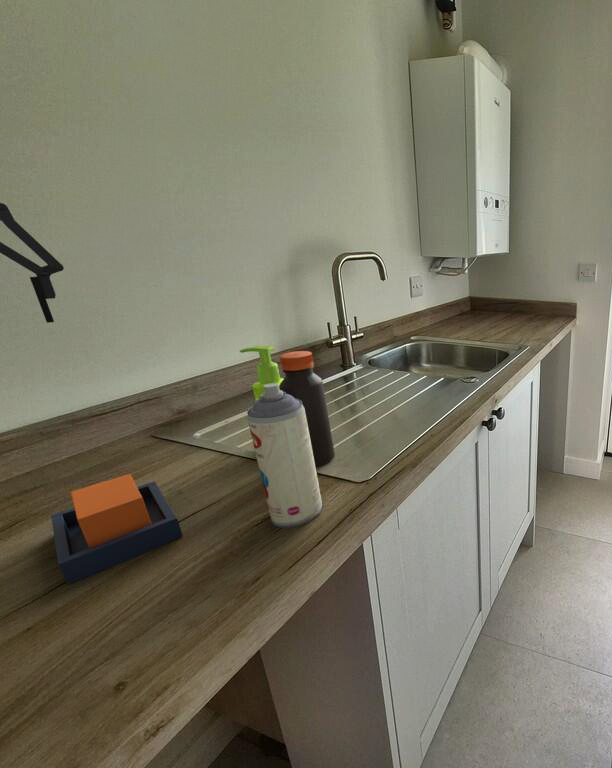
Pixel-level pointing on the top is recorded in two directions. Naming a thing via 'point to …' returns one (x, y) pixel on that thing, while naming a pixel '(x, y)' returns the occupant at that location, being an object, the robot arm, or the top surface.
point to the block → (109, 510)
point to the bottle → (309, 401)
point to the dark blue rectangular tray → (87, 561)
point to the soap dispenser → (264, 369)
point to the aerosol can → (285, 457)
